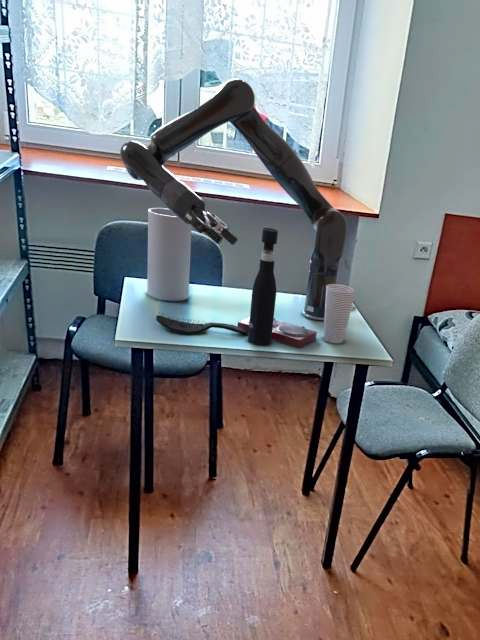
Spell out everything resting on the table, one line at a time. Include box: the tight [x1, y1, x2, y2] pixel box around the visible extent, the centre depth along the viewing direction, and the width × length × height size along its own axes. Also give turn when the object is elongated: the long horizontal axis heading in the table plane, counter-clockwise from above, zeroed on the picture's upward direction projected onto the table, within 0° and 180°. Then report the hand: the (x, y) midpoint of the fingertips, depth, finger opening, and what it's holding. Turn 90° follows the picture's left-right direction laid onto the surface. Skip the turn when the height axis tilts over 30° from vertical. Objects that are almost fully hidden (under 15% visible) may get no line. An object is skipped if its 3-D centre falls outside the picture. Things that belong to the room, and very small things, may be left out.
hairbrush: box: [155, 311, 248, 336], centre depth 182 cm, size 8×4×25 cm
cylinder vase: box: [146, 207, 193, 302], centre depth 200 cm, size 12×12×25 cm
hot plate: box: [237, 316, 318, 348], centre depth 190 cm, size 12×20×3 cm, turn 66°
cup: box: [322, 283, 356, 344], centre depth 191 cm, size 8×8×16 cm
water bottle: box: [247, 227, 279, 347], centre depth 175 cm, size 6×6×30 cm
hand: (228, 241), depth 173 cm, fingers open, 8 cm apart
